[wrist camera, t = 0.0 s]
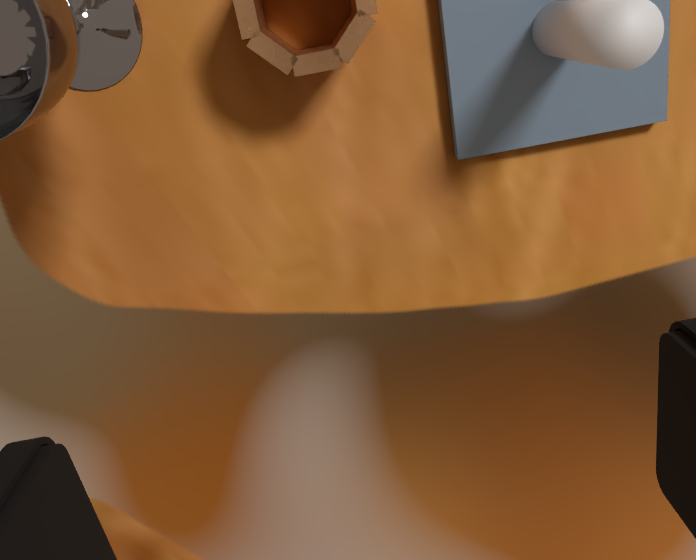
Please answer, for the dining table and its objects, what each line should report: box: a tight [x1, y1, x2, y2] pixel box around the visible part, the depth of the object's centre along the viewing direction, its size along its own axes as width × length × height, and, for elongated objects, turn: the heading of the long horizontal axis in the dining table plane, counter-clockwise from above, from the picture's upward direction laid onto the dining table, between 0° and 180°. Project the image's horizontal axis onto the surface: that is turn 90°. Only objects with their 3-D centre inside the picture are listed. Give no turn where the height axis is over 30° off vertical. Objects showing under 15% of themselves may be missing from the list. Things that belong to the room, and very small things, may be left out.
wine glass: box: [0, 0, 142, 141], centre depth 29 cm, size 8×8×15 cm
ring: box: [233, 0, 378, 77], centre depth 33 cm, size 7×7×5 cm
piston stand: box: [438, 0, 670, 160], centre depth 32 cm, size 13×13×10 cm
